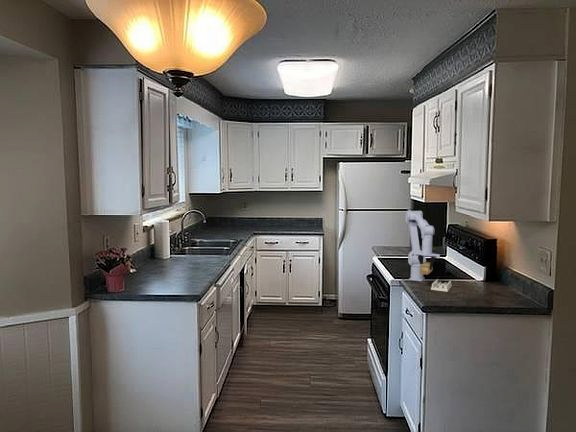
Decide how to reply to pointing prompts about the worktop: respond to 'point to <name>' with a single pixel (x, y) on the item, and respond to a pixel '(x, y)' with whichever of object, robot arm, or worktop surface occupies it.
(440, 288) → the peg base
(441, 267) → the worktop surface
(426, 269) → the golden brown block
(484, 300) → the worktop surface
